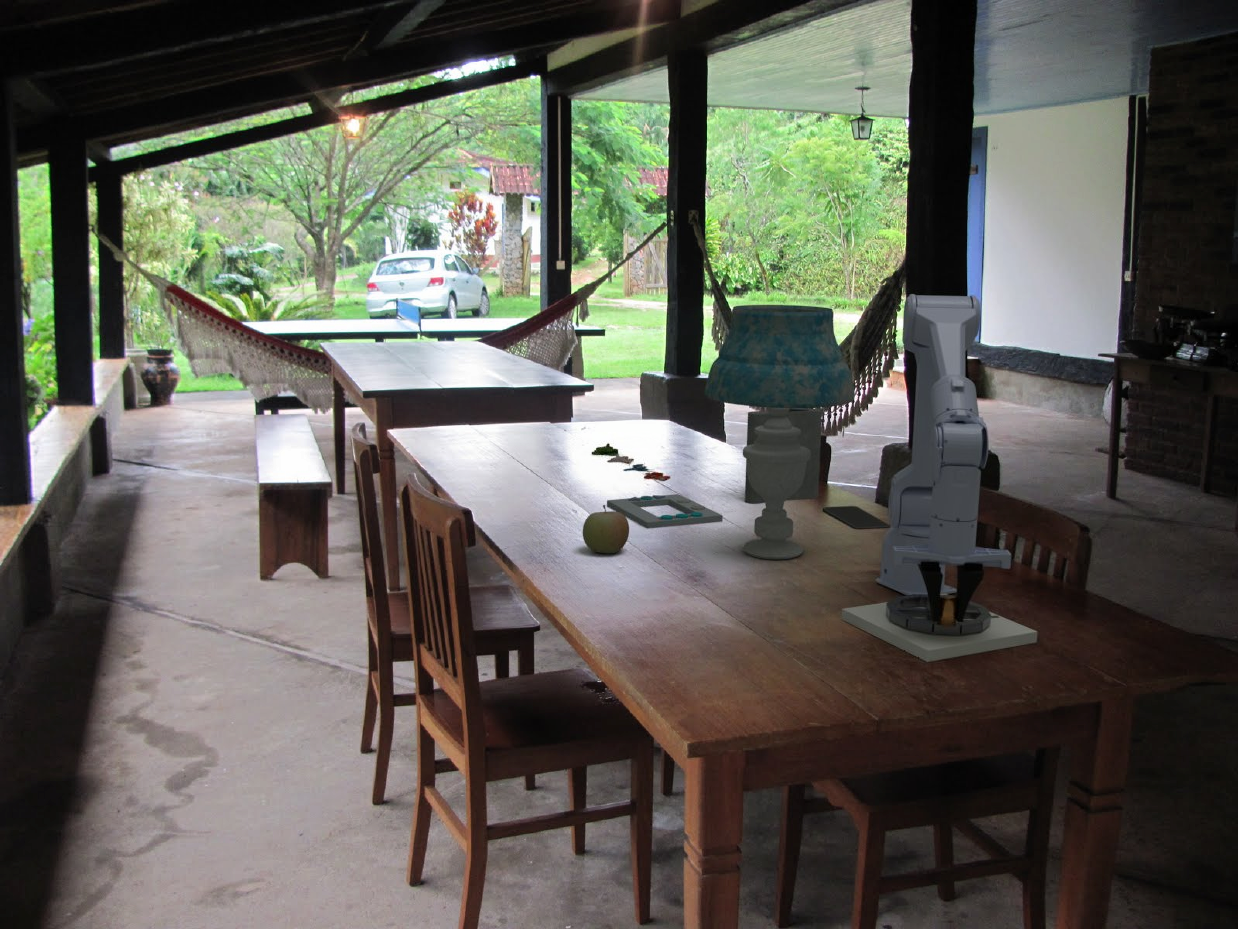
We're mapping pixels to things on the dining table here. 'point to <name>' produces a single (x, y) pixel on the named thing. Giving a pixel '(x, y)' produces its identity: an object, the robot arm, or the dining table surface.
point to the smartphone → (855, 517)
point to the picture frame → (646, 519)
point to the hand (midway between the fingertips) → (946, 619)
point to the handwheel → (947, 617)
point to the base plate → (938, 645)
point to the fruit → (606, 531)
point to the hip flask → (808, 438)
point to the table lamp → (779, 401)
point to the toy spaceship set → (609, 450)
